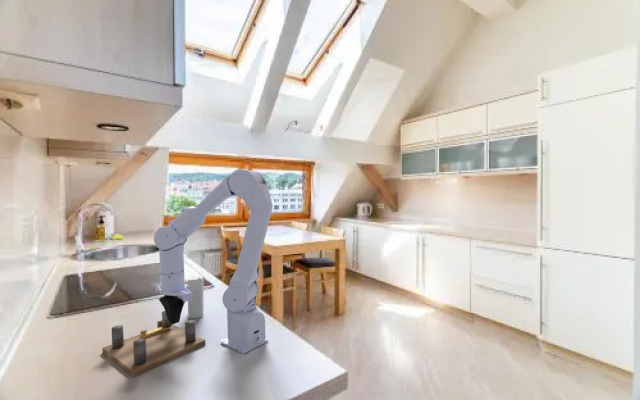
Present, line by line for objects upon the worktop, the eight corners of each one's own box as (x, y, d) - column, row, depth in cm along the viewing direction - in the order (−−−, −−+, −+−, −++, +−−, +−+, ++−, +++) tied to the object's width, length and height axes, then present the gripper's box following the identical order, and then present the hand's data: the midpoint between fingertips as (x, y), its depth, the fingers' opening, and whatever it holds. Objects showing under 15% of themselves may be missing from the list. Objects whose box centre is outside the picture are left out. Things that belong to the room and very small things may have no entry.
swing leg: (143, 339, 81) (142, 320, 81) (139, 336, 82) (139, 318, 82) (173, 328, 87) (173, 311, 86) (169, 326, 88) (169, 309, 88)
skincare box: (189, 312, 102) (188, 274, 101) (204, 310, 103) (203, 273, 102) (187, 319, 96) (186, 280, 95) (203, 317, 97) (202, 278, 97)
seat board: (205, 344, 80) (204, 321, 80) (133, 376, 66) (132, 349, 66) (171, 327, 90) (170, 306, 90) (102, 352, 77) (101, 328, 76)
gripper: (202, 272, 82) (203, 323, 82) (172, 265, 90) (174, 311, 91) (175, 278, 76) (178, 334, 76) (147, 270, 84) (149, 320, 85)
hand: (174, 322), depth 83 cm, fingers closed
